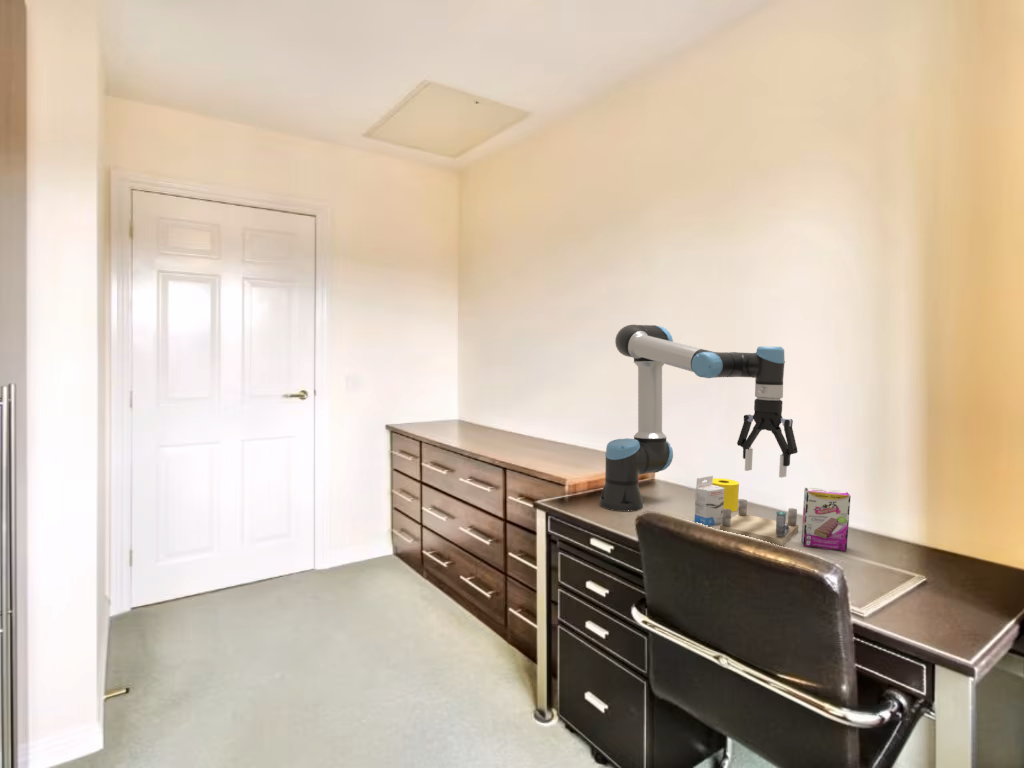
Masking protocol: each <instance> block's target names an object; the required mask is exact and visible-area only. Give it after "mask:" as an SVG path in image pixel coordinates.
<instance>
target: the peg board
mask: <svg viewBox="0 0 1024 768" xmlns="http://www.w3.org/2000/svg"><path fill="white" fill-rule="evenodd" d="M747 509H748V500H747V499H742V498H741V499H739V498H738V513H737V514H736V515H734V516H732V512H731V510H730V509H723V517H722V523H721V524H720V525H719V530H723V531H727V532H732V533H736V534H741V535H745V536H749V537H753V538H756V539H760V540H763V541H767V542H770V543H774V544H777V545H776V546H778V545H782V546H781V547H783V546H784V545H785V544H786V543H788V542H789V541H790V540H791V539H792V538H793V537H794V536H795V535H796V534H797V533H798V532H799V524H797V520H798V519H797V517H798V509H797V508H793V507H789V508H788V510H787V511H788V512H787V513H788V514H787V521H786V522H785V523H787V524H789V528H790V529H789V531H788V533H787V534H786V535H785V536H779V535H776V519H771V518H765V517H760V516H755V515H751V514H750V515H749V514H747V511H748V510H747ZM774 544H773V545H774Z"/></svg>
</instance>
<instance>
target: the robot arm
mask: <svg viewBox="0 0 1024 768" xmlns="http://www.w3.org/2000/svg"><path fill="white" fill-rule="evenodd" d="M614 344H615V347H616V349H617V351H618V352H619V353H620V354H621V355H623V356H625V357H629V358H633V363H634V364H635V365H636V366H637V370H638V371H637V393H638V394H637V415H638V416H637V419H638V420H637V432H636V433H635V434H634V435H633V438H627V437H626V438H617V439H613V440H611V441H609V442H608V443H607V444H606V449H605V475H604V476H605V477H604V480H605V481H604V486H603V489H602V490H601V494H600V497H599V505H600V506H601V507H602V508H604V507H605V509H607V508H608V509H607V510H611V509H613V510H612V511H617V510H621V511H620V512H632V511H631V510H635V511H639V510H641V509H642V508H643V507H644V506H643V504H644V502H643V501H644V500H643V497H642V494H641V490H640V487H639V477H640V475H643V474H650V473H653V474H654V473H655V474H656V473H659V472H662V471H665V470H666V469H668V468H669V467H670V465H671V464H672V462H673V459H674V451H673V447H672V446H671V443H670V442H669V441H667V435H666V434H664V432H663V367H664V365H667V366H671V367H675V368H679V369H682V370H685V371H689V372H692V373H694V374H695V376H697V377H699V378H705V379H711V378H714V379H715V378H754V379H755V383H754V385H755V386H754V387H755V388H754V397H755V399H754V405H753V410H754V413H753V415H752V414H744V415H743V424H742V427H741V430H740V433H739V436H738V439H737V442H736V444H737V446H739V447H741V448H742V459H744V471H746V472H747V471H752V470H753V453H754V452H753V450H754V448H752V446H753V444H754V442H755V440H756V439H757V437H758V436H759V434H760V433H761V432H762V431H764V430H766V431H769V432H771V433H772V434H773V436H774V438H775V440H776V442H777V444H778V447H779V448H780V450H781V452H782V453H781V454H779V470H778V471H779V473H778V477H779V478H786V477H787V469H788V467H789V466H790V464H791V455H794V454H798V451H799V450H798V447H797V446H798V445H797V443H796V437H795V434H794V429H793V424H794V422H793V421H794V420H793V419H792V418H789V419H787V418H784V417H783V416H782V414H783V413H782V412H783V403H784V402H783V400H782V399H783V397H784V373H785V363H786V361H785V349H784V347H783V346H757V347H756V351H755V352H737V351H729V352H724V351H723V352H721V351H720V352H718V351H717V352H716V351H712V350H707V349H703V348H699V347H695V346H691V345H687V344H682V343H679V342H676V341H674V339H673V336H672V334H671V332H669V330H668V329H667V328H665V327H664V326H660V325H654V324H650V325H648V324H646V325H645V324H644V325H643V324H629V325H625V326H623V327H622V328H620V330H619V331H618V332H617V333H616V337H615V343H614ZM753 421H754V422H755V424H754V426H753V427H752V430H751V426H752V422H753ZM781 424H782V426H783V431H784V434H785V436H784V435H783V432H782V428H781V426H780V425H781ZM750 430H751V432H750ZM749 432H750V433H749ZM638 509H639V510H638ZM628 510H629V511H628Z"/></svg>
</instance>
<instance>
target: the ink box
mask: <svg viewBox="0 0 1024 768" xmlns="http://www.w3.org/2000/svg"><path fill="white" fill-rule="evenodd" d="M713 479H714V476H713V475H710V476H709V475H708V476H703V477H697V479H696V486H695V503H694V523H695V522H698V523H702V524H704V525H708V526H707V527H711V526H715V525H716V526H717V525H719V524H720V525H721V524H722V517H723V505H724V488H723V487H719V486H715V485H712V482H713ZM703 481H704V482H703Z"/></svg>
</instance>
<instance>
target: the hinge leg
mask: <svg viewBox="0 0 1024 768" xmlns="http://www.w3.org/2000/svg"><path fill="white" fill-rule="evenodd" d="M775 515H776V516H775V517H776V519H775V520H776V535H779V536H785V535H786V534H787V533H788V531H789V529H790V528H789V524H787V523H788V522H787V521H786V519H787V517H786V516H787V512H785V511H781V510H780V511H779V510H778V511H776V514H775ZM785 522H786V523H785Z"/></svg>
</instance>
